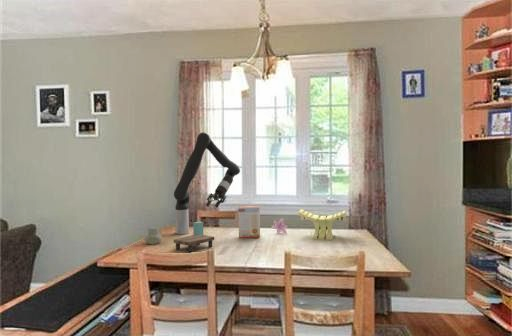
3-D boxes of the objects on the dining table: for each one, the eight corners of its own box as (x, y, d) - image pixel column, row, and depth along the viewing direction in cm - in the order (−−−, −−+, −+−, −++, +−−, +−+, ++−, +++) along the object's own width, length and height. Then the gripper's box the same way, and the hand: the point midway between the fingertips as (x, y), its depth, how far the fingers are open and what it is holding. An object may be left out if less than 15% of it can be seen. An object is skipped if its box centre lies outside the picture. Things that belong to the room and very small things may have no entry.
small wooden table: (173, 249, 240) (173, 239, 240) (198, 243, 256) (198, 234, 256) (189, 252, 231) (189, 242, 231) (214, 246, 247) (214, 236, 247)
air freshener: (143, 245, 253) (143, 229, 253) (145, 242, 261) (145, 227, 261) (161, 244, 255) (161, 228, 254) (162, 241, 263) (162, 226, 263)
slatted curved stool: (346, 235, 276) (345, 209, 275) (344, 240, 260) (344, 212, 260) (302, 233, 283) (302, 208, 283) (298, 238, 268) (298, 211, 267)
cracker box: (260, 236, 276) (259, 205, 275) (259, 238, 270) (259, 207, 269) (239, 236, 277) (239, 205, 277) (238, 238, 271) (238, 207, 271)
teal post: (193, 240, 265) (193, 222, 264) (198, 239, 268) (198, 221, 268) (198, 241, 262) (197, 223, 261) (203, 240, 265) (203, 222, 265)
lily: (268, 235, 284) (272, 224, 279) (270, 226, 294) (274, 215, 290) (284, 240, 283) (288, 230, 279) (286, 231, 294) (290, 220, 289)
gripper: (212, 184, 286) (201, 202, 278) (227, 185, 277) (215, 203, 269) (218, 191, 290) (207, 209, 282) (232, 192, 281) (221, 210, 273)
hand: (211, 206), depth 275 cm, fingers open, 8 cm apart
